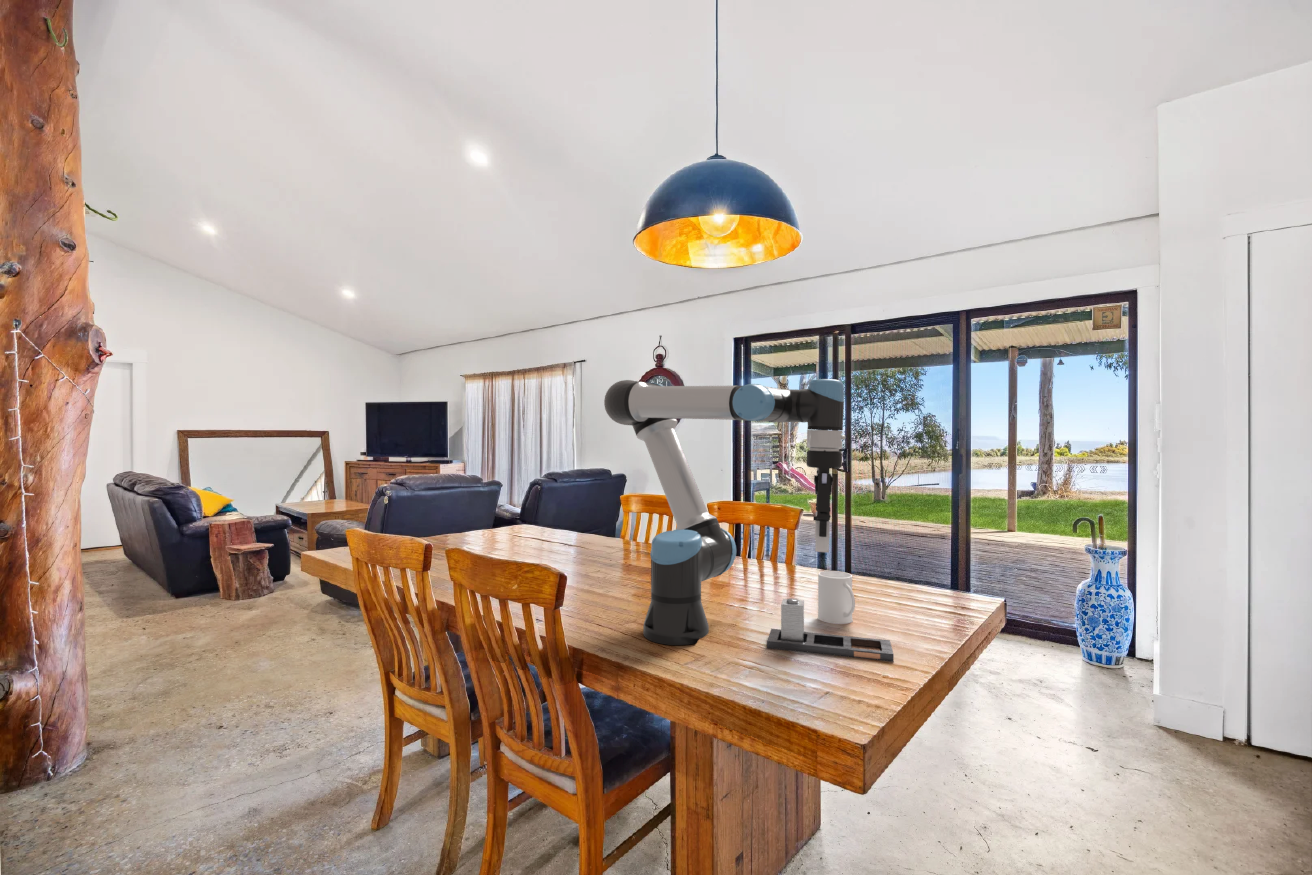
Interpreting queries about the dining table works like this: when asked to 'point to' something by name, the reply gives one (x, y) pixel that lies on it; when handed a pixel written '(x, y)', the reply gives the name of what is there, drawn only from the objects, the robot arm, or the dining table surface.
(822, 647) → the tray with compartments
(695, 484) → the robot arm
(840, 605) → the mug
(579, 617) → the dining table surface
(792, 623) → the grey block with knob
